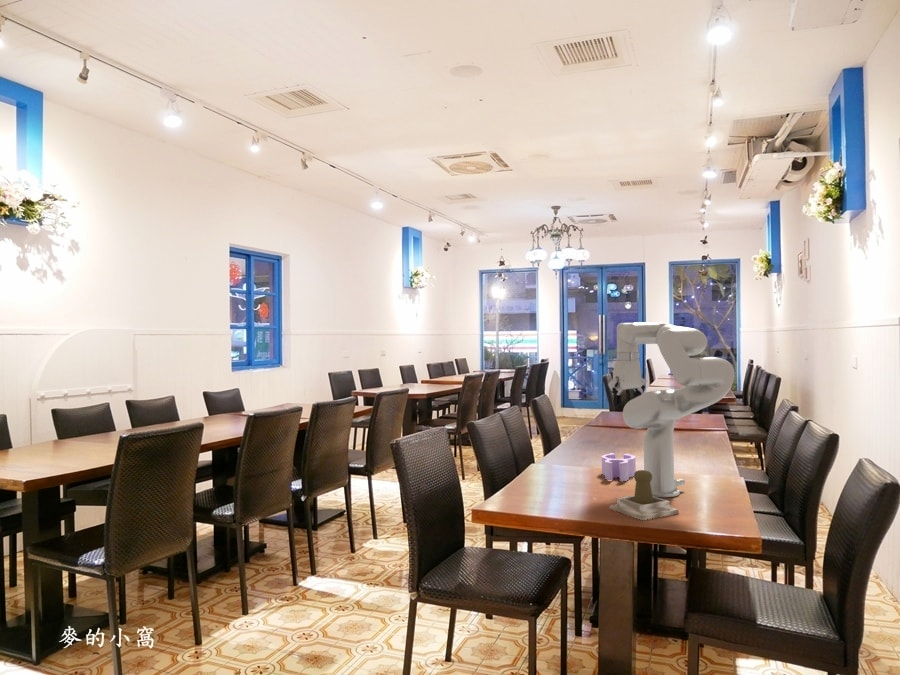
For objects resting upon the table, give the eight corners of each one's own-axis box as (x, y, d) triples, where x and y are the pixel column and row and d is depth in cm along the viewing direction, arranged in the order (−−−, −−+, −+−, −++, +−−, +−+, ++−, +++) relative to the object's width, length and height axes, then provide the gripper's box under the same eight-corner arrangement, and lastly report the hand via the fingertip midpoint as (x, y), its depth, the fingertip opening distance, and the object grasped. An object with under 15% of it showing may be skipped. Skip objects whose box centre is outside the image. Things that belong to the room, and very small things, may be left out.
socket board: (644, 503, 201) (644, 492, 201) (678, 513, 189) (678, 501, 189) (609, 509, 195) (609, 497, 195) (642, 520, 183) (642, 508, 183)
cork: (632, 509, 190) (631, 472, 190) (634, 504, 196) (633, 468, 196) (653, 510, 188) (652, 473, 188) (654, 505, 194) (653, 469, 194)
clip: (633, 483, 230) (633, 463, 230) (598, 481, 234) (598, 462, 234) (636, 471, 248) (636, 453, 248) (604, 470, 252) (603, 452, 253)
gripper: (637, 355, 236) (637, 401, 237) (602, 357, 228) (602, 405, 229) (653, 356, 229) (653, 404, 230) (616, 359, 221) (616, 408, 222)
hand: (627, 404), depth 229 cm, fingers open, 9 cm apart
